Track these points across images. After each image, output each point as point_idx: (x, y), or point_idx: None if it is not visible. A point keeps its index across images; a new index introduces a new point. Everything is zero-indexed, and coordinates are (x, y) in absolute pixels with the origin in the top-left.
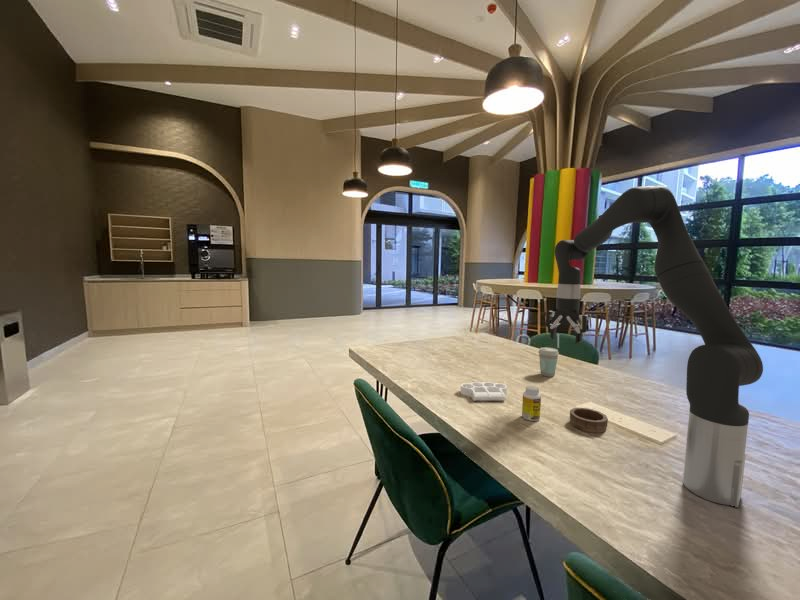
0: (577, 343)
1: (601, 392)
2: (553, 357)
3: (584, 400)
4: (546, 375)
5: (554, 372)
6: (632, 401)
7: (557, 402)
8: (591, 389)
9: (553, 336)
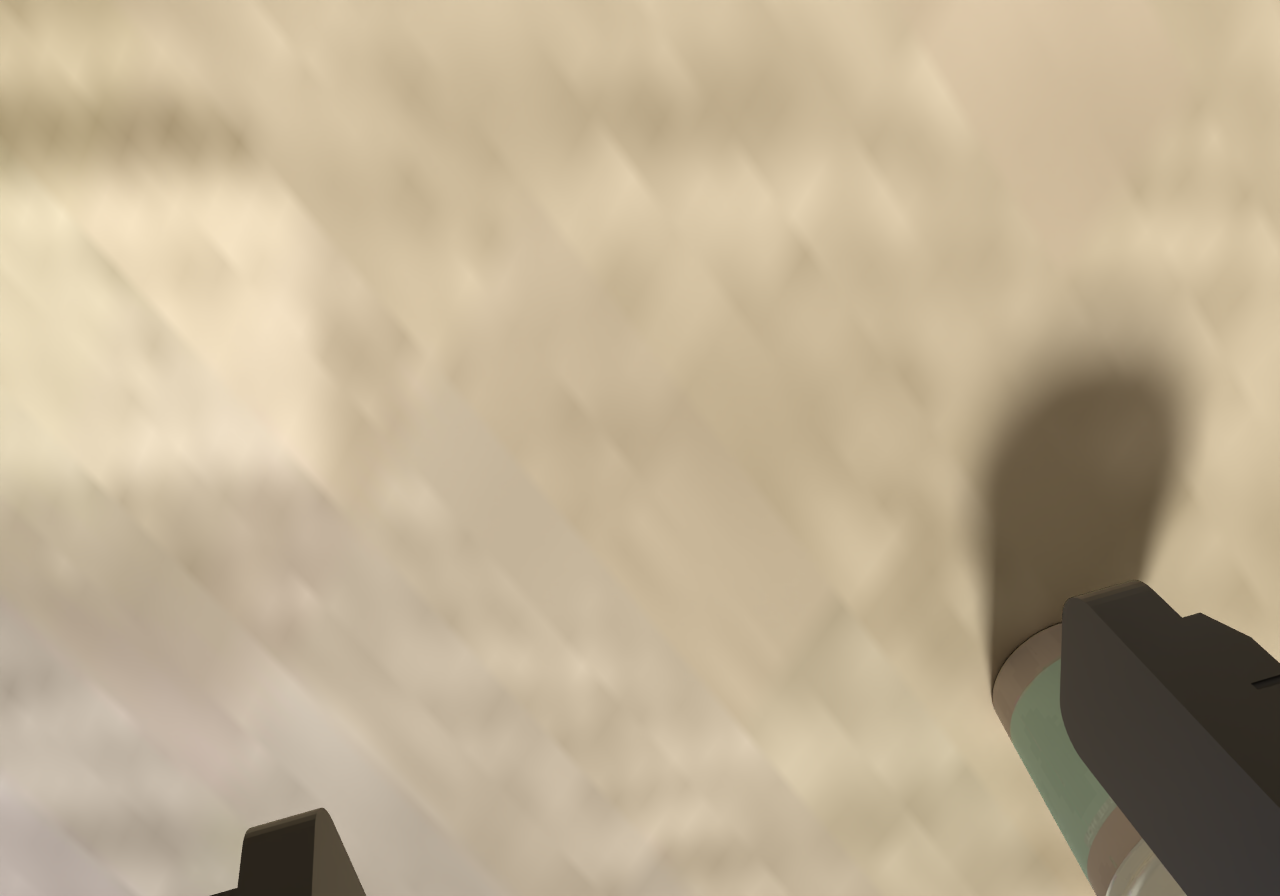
0: (250, 828)
1: (456, 764)
2: (1118, 838)
3: (379, 442)
4: (1045, 638)
5: (1010, 729)
6: (151, 832)
7: (484, 86)
8: (559, 743)
9: (1126, 657)
